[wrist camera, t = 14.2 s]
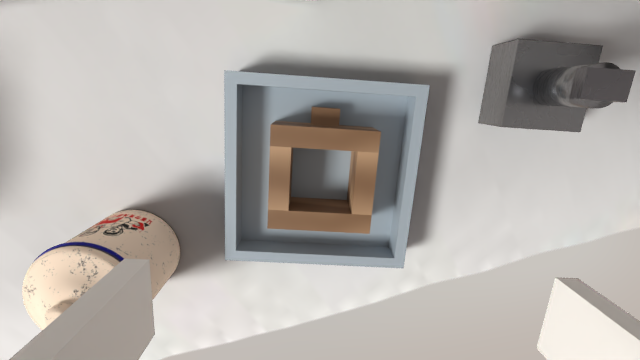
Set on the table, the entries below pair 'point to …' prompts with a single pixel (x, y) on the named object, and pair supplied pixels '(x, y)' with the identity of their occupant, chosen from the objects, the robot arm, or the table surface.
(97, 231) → the teacup with lid
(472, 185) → the table surface
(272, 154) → the walnut ring
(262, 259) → the slate tray
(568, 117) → the metal stake
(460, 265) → the table surface
